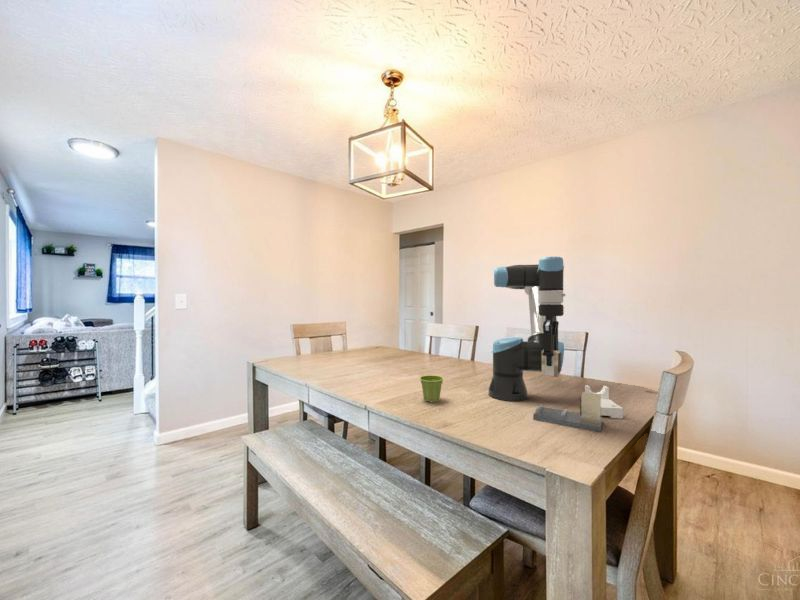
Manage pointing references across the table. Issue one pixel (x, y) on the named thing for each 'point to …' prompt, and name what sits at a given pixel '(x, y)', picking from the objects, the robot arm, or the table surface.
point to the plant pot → (431, 387)
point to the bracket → (607, 403)
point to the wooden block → (556, 363)
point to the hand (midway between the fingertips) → (551, 373)
